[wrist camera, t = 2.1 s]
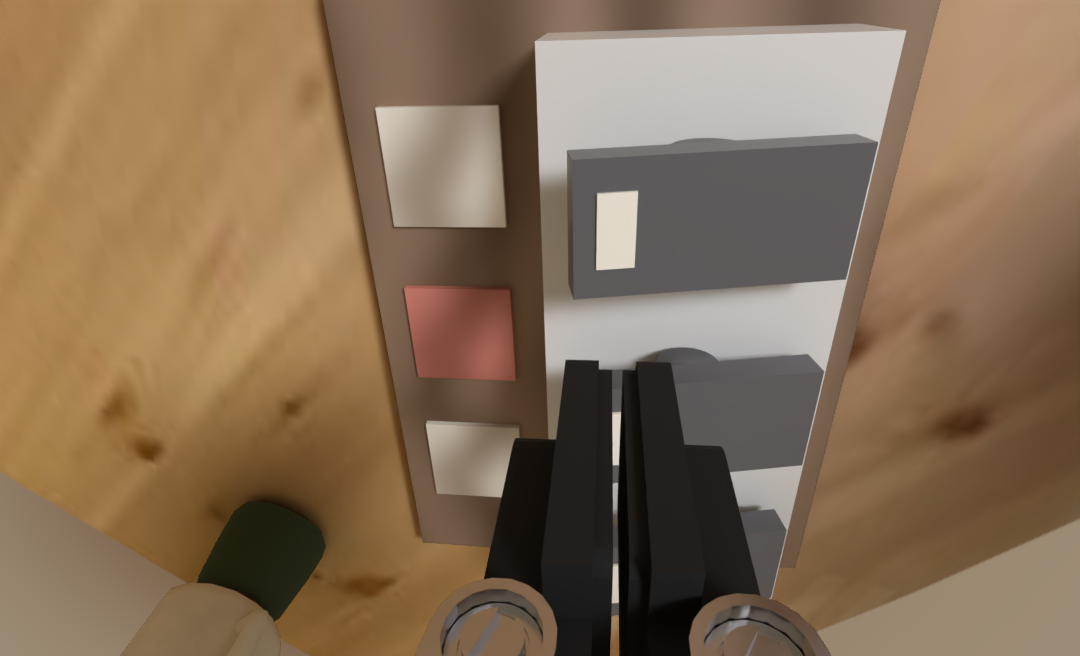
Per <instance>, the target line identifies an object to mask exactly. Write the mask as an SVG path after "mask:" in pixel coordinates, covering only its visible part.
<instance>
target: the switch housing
mask: <svg viewBox="0 0 1080 656" xmlns="http://www.w3.org/2000/svg"><path fill="white" fill-rule="evenodd" d="M905 34H906V30H900V29H893V28H887V27H880V26H873V25H866V24H826V25H793V26H760V27H727V28H694V29H662V30H629V31H596V32H563V33H547V34H545V35H544V36H542V37H541V38H539V39H537V40H536V41H535V61H536V90H537V119H538V148H539V177H540V207H541V236H542V265H543V294H544V324H545V353H546V382H547V411H548V439H556V435H557V426H558V418H559V410H560V402H561V393H562V385H563V377H564V368H565V361H566V360H599V369H608V370H619V369H631V368H635V367H636V361H641V362H655V359H656V357H657V355H658V354H660V353H661V352H663V351H665V350H667V349H671V348H678V347H687V348H695V349H699V350H702V351H705V352H707V353H709V354H711V355H712V356H714V357H715V358H716V359H717V360H718V361H729V360H741V359H753V358H765V357H777V356H790V355H802V354H808V355H809V356H810V357H811V358H812V359H813V360H814V361H815V362H816V363H817V364H818V365H819V366H820V367H821V369H822V370H823V371H824V375H823V379H822V383H821V388H822V384H823V380H824V376H825V372H826V367H827V363H828V359H829V355H830V351H831V346H832V342H833V338H834V334H835V329H836V325H837V321H838V317H839V313H840V308H841V304H842V300H843V296H844V292H845V287H846V283H847V279H848V275H849V270H850V266H851V262H852V258H853V254H854V249H855V245H856V241H857V237H858V233H859V228H860V224H861V220H862V216H863V211H864V207H865V203H866V199H867V195H868V190H869V186H870V182H871V178H872V174H873V169H874V165H875V161H876V157H877V152H878V148H879V144H880V140H881V136H882V131H883V127H884V123H885V119H886V115H887V110H888V106H889V102H890V98H891V93H892V89H893V85H894V81H895V77H896V72H897V68H898V64H899V60H900V56H901V51H902V47H903V43H904V39H905ZM842 134H858V135H861V136H863V137H866V138H869V139H872V140H874V141H877V142H878V146H877V150H876V155H875V159H874V163H873V167H872V172H871V176H870V180H869V184H868V188H867V193H866V197H865V201H864V205H863V210H862V214H861V218H860V222H859V227H858V231H857V235H856V239H855V244H854V248H853V252H852V256H851V260H850V265H849V269H848V273H847V277H846V280H833V281H820V282H806V283H792V284H779V285H765V286H752V287H738V288H725V289H711V290H698V291H684V292H671V293H657V294H643V295H630V296H616V297H603V298H589V299H576V300H573V297H572V293H571V290H570V287H569V284H568V213H567V150H577V149H595V148H612V147H630V146H648V145H665V144H672V143H674V142H676V141H680V140H685V139H693V138H721V139H730V140H753V139H771V138H789V137H806V136H824V135H842ZM821 388H820V392H819V396H818V400H817V404H816V409H817V405H818V401H819V397H820V393H821ZM816 409H815V413H814V417H813V421H812V426H813V422H814V418H815V414H816ZM812 426H811V430H810V434H809V438H808V443H809V439H810V435H811V431H812ZM808 443H807V447H808ZM807 447H806V451H805V455H804V460H805V456H806V452H807ZM804 460H803V464H804ZM803 464H802V465H800V466H790V467H779V468H769V469H758V470H748V471H737V472H730V475H731V479H732V483H733V487H734V491H735V495H736V499H737V503H738V507H739V511H740V512H749V511H759V510H770V509H775V511H776V513H777V514H778V516H779V518H780V519H781V521H782V523H783V525H784V526H785V528H786V530H787V531H786V536H787V532H788V527H789V523H790V519H791V515H792V511H793V506H794V502H795V498H796V494H797V490H798V485H799V481H800V477H801V473H802V468H803ZM617 501H618V483H613V525H618V521H617ZM786 536H785V540H786ZM785 540H784V544H785ZM784 544H783V548H782V553H783V549H784ZM782 553H781V557H782ZM781 557H780V561H781ZM780 561H779V565H780ZM779 565H778V570H779ZM778 570H777V574H778ZM777 574H776V578H777ZM776 578H775V582H776ZM775 582H774V586H775ZM773 591H774V587H773ZM773 591H772V595H773ZM772 595H771V598H769V599H772Z"/></svg>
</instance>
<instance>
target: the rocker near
mask: <svg viewBox="0 0 1080 656" xmlns="http://www.w3.org/2000/svg"><path fill="white" fill-rule="evenodd" d="M877 146H878V142H877V141H874V140H872V139H869V138H866V137H863V136H861V135H858V134H842V135H824V136H806V137H789V138H771V139H753V140H730V139H721V138H693V139H685V140H680V141H676V142H674V143H672V144H665V145H648V146H630V147H612V148H595V149H577V150H567V213H568V284H569V287H570V290H571V293H572V297H573V300H576V299H589V298H603V297H616V296H630V295H643V294H657V293H671V292H684V291H698V290H711V289H725V288H738V287H752V286H765V285H779V284H792V283H806V282H820V281H833V280H846V277H847V273H848V269H849V265H850V260H851V256H852V252H853V248H854V244H855V239H856V235H857V231H858V227H859V222H860V218H861V214H862V210H863V205H864V201H865V197H866V193H867V188H868V184H869V180H870V176H871V172H872V167H873V163H874V159H875V155H876V150H877Z"/></svg>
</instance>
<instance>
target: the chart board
mask: <svg viewBox="0 0 1080 656" xmlns="http://www.w3.org/2000/svg"><path fill="white" fill-rule="evenodd" d="M940 1H941V0H323V4H324V9H325V15H326V20H327V26H328V31H329V36H330V42H331V47H332V53H333V58H334V64H335V69H336V74H337V80H338V85H339V91H340V96H341V101H342V107H343V112H344V118H345V123H346V129H347V134H348V139H349V145H350V150H351V156H352V161H353V166H354V172H355V177H356V183H357V188H358V194H359V199H360V204H361V210H362V215H363V221H364V226H365V231H366V237H367V242H368V248H369V253H370V259H371V264H372V269H373V275H374V280H375V286H376V291H377V296H378V302H379V307H380V313H381V318H382V323H383V329H384V334H385V340H386V345H387V351H388V356H389V361H390V367H391V372H392V378H393V383H394V388H395V394H396V399H397V405H398V410H399V416H400V421H401V426H402V432H403V437H404V443H405V448H406V453H407V459H408V464H409V470H410V475H411V481H412V486H413V491H414V497H415V502H416V508H417V513H418V518H419V524H420V529H421V535H422V540H423V542H424V543H438V544H453V545H468V546H482V547H491V544H492V539H493V535H494V530H495V525H496V521H497V516H498V511H499V507H500V502H501V497H502V493H503V488H504V483H505V479H506V474H507V469H508V465H509V460H510V455H511V451H512V446H513V443H514V440H515V439H516V438H531V439H548V411H547V382H546V353H545V324H544V294H543V265H542V236H541V207H540V177H539V148H538V119H537V90H536V61H535V41H536V40H537V39H539V38H541V37H542V36H544V35H545V34H547V33H563V32H596V31H629V30H662V29H694V28H727V27H760V26H793V25H826V24H866V25H873V26H880V27H887V28H893V29H900V30H906V34H905V39H904V43H903V47H902V51H901V56H900V60H899V64H898V68H897V72H896V77H895V81H894V85H893V89H892V93H891V98H890V102H889V106H888V110H887V115H886V119H885V123H884V127H883V131H882V136H881V140H880V144H879V148H878V152H877V157H876V161H875V165H874V169H873V174H872V178H871V182H870V186H869V190H868V195H867V199H866V203H865V207H864V211H863V216H862V220H861V224H860V228H859V233H858V237H857V241H856V245H855V249H854V254H853V258H852V262H851V266H850V270H849V275H848V279H847V283H846V287H845V292H844V296H843V300H842V304H841V308H840V313H839V317H838V321H837V325H836V329H835V334H834V338H833V342H832V346H831V351H830V355H829V359H828V363H827V367H826V372H825V376H824V380H823V384H822V388H821V393H820V397H819V401H818V405H817V409H816V414H815V418H814V422H813V426H812V431H811V435H810V439H809V443H808V447H807V452H806V456H805V460H804V464H803V468H802V473H801V477H800V481H799V485H798V490H797V494H796V498H795V502H794V506H793V511H792V515H791V519H790V523H789V527H788V532H787V536H786V540H785V544H784V549H783V553H782V557H781V561H780V565H779V567H787V568H795V566H796V562H797V558H798V554H799V550H800V546H801V542H802V539H803V535H804V531H805V527H806V523H807V519H808V515H809V511H810V507H811V504H812V500H813V496H814V492H815V488H816V484H817V480H818V476H819V472H820V468H821V465H822V461H823V457H824V453H825V449H826V445H827V441H828V437H829V433H830V429H831V426H832V422H833V418H834V414H835V410H836V406H837V402H838V398H839V394H840V391H841V387H842V383H843V379H844V375H845V371H846V367H847V363H848V359H849V355H850V352H851V348H852V344H853V340H854V336H855V332H856V328H857V324H858V320H859V316H860V313H861V309H862V305H863V301H864V297H865V293H866V289H867V285H868V281H869V278H870V274H871V270H872V266H873V262H874V258H875V254H876V250H877V246H878V242H879V239H880V235H881V231H882V227H883V223H884V219H885V215H886V211H887V207H888V203H889V200H890V196H891V192H892V188H893V184H894V180H895V176H896V172H897V168H898V165H899V161H900V157H901V153H902V149H903V145H904V141H905V137H906V133H907V129H908V126H909V122H910V118H911V114H912V110H913V106H914V102H915V98H916V94H917V90H918V87H919V83H920V79H921V75H922V71H923V67H924V63H925V59H926V55H927V52H928V48H929V44H930V40H931V36H932V32H933V28H934V24H935V20H936V16H937V13H938V9H939V5H940Z"/></svg>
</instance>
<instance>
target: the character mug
mask: <svg viewBox="0 0 1080 656" xmlns="http://www.w3.org/2000/svg"><path fill="white" fill-rule="evenodd" d="M325 547H326V545H325V542H324V539H323V536H322V532H321V531H320V530H319V529H318V528H317V527H315V526H314V525H313V524H311V523H310V522H309V521H308V520H306V519H305V518H303V517H301V516H299V515H298V514H296V513H294V512H292V511H290V510H289V509H287V508H284V507H281V506H278V505H275V504H271V503H268V502H247V503H245V504H244V505H243V506H241V507H240V508H238V509H237V510H236V511H234V513H233V515H232V516H231V518H230V520H229V521H228V523H227V525H226V526H225V528H224V530H223V531H222V533H221V535H220V536H219V538H218V540H217V542H216V544H215V546H214V548H213V550H212V552H211V554H210V555H209V557H208V559H207V561H206V563H205V565H204V567H203V569H202V571H201V573H200V575H199V578H198V582H197V583H187V584H184V585H180V586H178V587H174V588H172V589H171V590H170V591H169V592H168V593H167V594H166V595H165V596H164V598H163V599H162V600H161V602H160V603H159V604H158V606H157V607H156V608H155V610H154V611H153V613H152V614H151V615H150V616H149V618H148V619H147V620H146V622H145V623H144V624H143V626H142V627H141V628H140V630H139V631H138V633H137V634H136V635H135V636H134V638H133V639H132V641H131V642H130V643H129V645H128V646H127V647H126V649H125V650H124V651H123V653H122V654H121V655H120V656H279V655H280V645H281V642H280V635H279V631H278V629H277V627H276V625H275V621H276V620H277V619H279V618H280V617H281V615H282V614H283V612H284V611H285V610H286V608H287V607H288V606H289V604H290V603H291V602H292V600H293V599H294V598H295V596H296V595H297V594H298V592H299V591H300V590H301V588H302V587H303V586H304V584H305V583H306V581H307V580H308V578H309V577H310V575H311V574H312V572H313V571H314V569H315V568H316V566H317V565H318V563H319V561H320V560H321V558H322V556H323V553H324V550H325Z"/></svg>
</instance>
